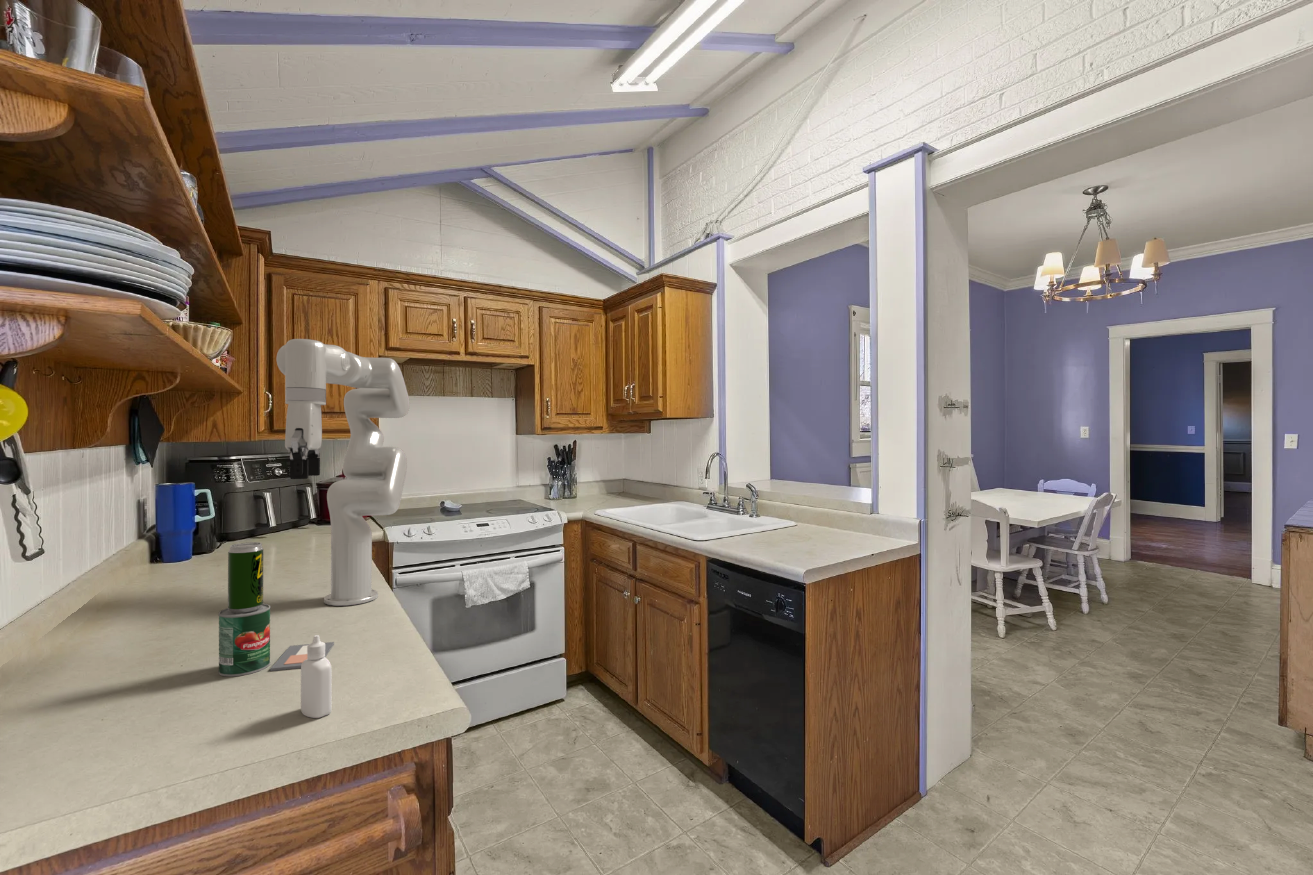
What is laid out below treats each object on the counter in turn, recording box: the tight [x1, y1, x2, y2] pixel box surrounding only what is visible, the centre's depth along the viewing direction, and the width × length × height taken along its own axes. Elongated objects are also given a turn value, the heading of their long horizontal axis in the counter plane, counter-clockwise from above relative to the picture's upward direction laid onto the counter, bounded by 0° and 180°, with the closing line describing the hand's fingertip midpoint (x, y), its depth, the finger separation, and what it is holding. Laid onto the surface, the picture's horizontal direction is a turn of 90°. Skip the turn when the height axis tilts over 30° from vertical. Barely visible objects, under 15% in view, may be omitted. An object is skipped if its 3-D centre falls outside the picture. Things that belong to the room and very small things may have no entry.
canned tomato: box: [218, 603, 271, 678], centre depth 108 cm, size 8×8×11 cm
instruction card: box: [270, 641, 335, 672], centre depth 114 cm, size 12×8×1 cm, turn 17°
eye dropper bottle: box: [300, 634, 333, 719], centre depth 92 cm, size 4×6×12 cm
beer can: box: [227, 541, 264, 613], centre depth 109 cm, size 5×5×12 cm
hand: (305, 477), depth 125 cm, fingers open, 9 cm apart
